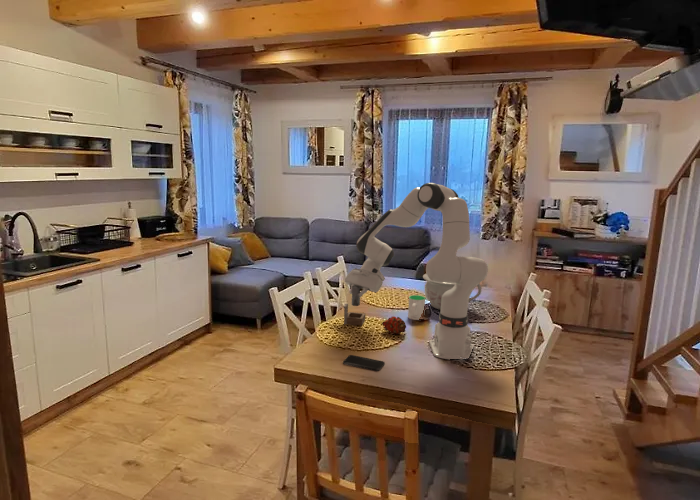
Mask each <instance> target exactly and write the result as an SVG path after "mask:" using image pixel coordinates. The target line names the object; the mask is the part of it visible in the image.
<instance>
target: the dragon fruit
mask: <svg viewBox="0 0 700 500" xmlns="http://www.w3.org/2000/svg"><path fill="white" fill-rule="evenodd" d="M381 325H382V326H383V330H384V331H386V332H389V331H390V332H389V334H390V335H394V334H396V335H400V334H401V333H405V332H406V329H407V324H406V322H405V321H404V320H403V319H402V318H401V317H400V316H394V315H393V316H391V317H389V318H388V319H386V320H385V321H382V323H381Z"/></svg>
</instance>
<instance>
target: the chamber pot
mask: <svg viewBox="0 0 700 500" xmlns="http://www.w3.org/2000/svg"><path fill="white" fill-rule="evenodd" d="M422 278H423V279H424V280H425V281H426V282H425V284H424V295H425V296H424V297H425V299H426V300H427V302H428V301H430V303H431V305H430V306H431V307H432V308H434V309H437V310H439V311H441V298H442V295H443V294H444V293H445V292H446V291H448V290H450V289H452V288H453V287H454V285H455V284H456V283H441V282H435V281H431V280H430V279H429V278H428V276H427V273H425V274H423V275H422ZM476 287H477V288H478V290H477V294H475V295H474V296H472V297H469V302H468V304H470V302H472V301H474V300H476V299H477V298H478V297H479V296H480V295H481V294H482V291H483V290H482V286H481V283H479V284H478V285H477V286H476ZM430 303H429V304H430Z"/></svg>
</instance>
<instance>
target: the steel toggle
mask: <svg viewBox="0 0 700 500" xmlns="http://www.w3.org/2000/svg"><path fill="white" fill-rule="evenodd" d="M359 292H361V288H360V286H352V294H351V306H354V307H358V306H361V305H360V304H361V297H360V296H358V293H359Z"/></svg>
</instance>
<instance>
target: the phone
mask: <svg viewBox="0 0 700 500" xmlns="http://www.w3.org/2000/svg"><path fill="white" fill-rule="evenodd" d="M342 364H343V365H346V366H349V367H353V368H354V367H356V368H360V369H364V370H369V371H372V372H373V371H374V372H379V371H381V370H382V368H383V367H384V366H385V361H384V360H378V359H374V358H369V357H364V356H358V355H354V354H349V355H348V356H347V357H345V359H343V360H342Z"/></svg>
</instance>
